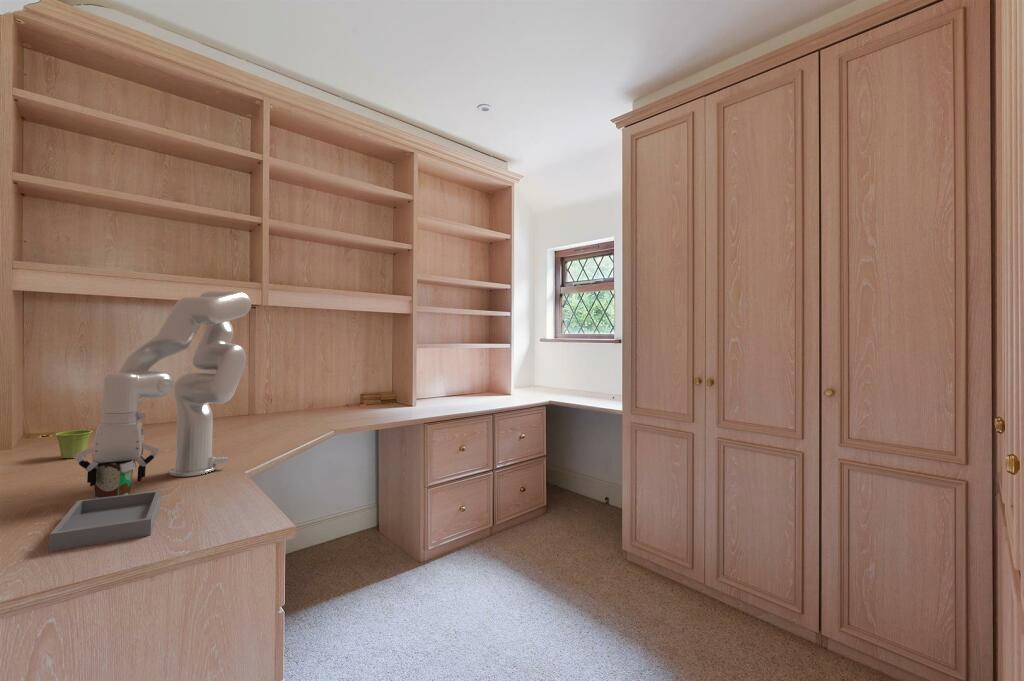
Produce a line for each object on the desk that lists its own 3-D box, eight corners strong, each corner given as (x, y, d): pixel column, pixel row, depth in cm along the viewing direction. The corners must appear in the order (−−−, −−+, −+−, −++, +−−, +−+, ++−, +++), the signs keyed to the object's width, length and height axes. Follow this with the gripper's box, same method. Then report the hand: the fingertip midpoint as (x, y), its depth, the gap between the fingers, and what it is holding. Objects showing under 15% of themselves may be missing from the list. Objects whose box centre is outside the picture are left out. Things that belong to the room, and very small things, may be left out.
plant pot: (51, 457, 159) (52, 432, 159) (87, 452, 167) (88, 428, 167) (58, 462, 154) (59, 436, 154) (95, 456, 162) (95, 432, 162)
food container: (146, 495, 124) (147, 459, 124) (121, 503, 119) (122, 464, 119) (116, 489, 128) (117, 454, 128) (90, 496, 123) (91, 459, 123)
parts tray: (160, 503, 119) (161, 490, 119) (150, 535, 100) (151, 519, 100) (77, 515, 110) (77, 500, 110) (49, 551, 92) (49, 534, 92)
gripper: (161, 415, 131) (158, 475, 131) (80, 418, 122) (76, 483, 121) (159, 418, 125) (155, 482, 124) (73, 422, 116) (69, 490, 115)
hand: (116, 482), depth 123 cm, fingers open, 9 cm apart
